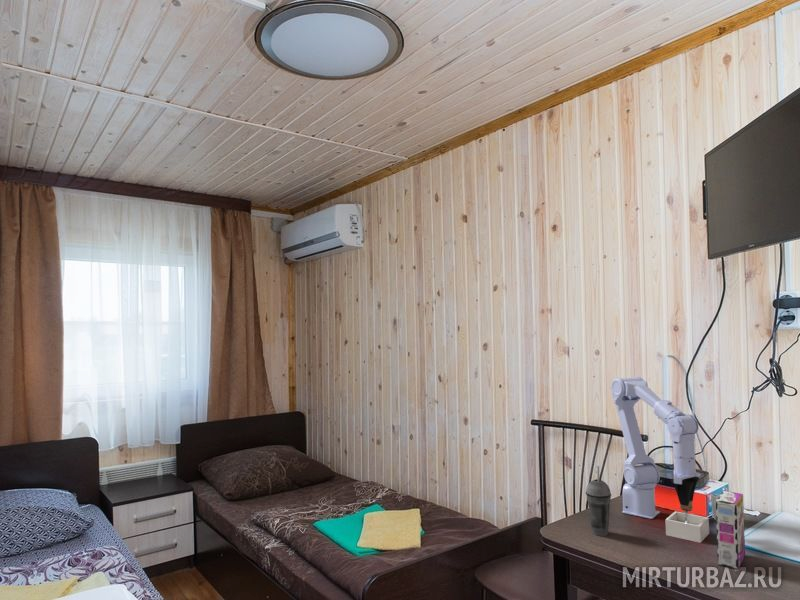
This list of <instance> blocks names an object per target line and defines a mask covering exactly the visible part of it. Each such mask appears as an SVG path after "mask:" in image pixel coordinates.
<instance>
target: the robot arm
mask: <svg viewBox="0 0 800 600" xmlns="http://www.w3.org/2000/svg"><path fill="white" fill-rule="evenodd" d="M610 392H611V395H612V399H613V403H614V404H615V409H616V412H617V416H618V419H619V423H620V427H621V432H622V436H623V438H624V443H625V447H626V450H627V454H628V457H627V458H626V460H625V461H624V462H623V464H622V465H623V475H624V479H625V482H626V483H625V484H624V485H623V488H622V494H621V495H622V514H626V515H632V516H636V517H640V518H646V519H650V520H652V519H654V518H655V517H656V516H658V515H660V514H661V511H659V510H656V495H655V491H656V490H655V487H657V484H658V483H659V482H660V479H661V473H660V471H659V469H658V467H657V465H656V463H655V460H654V459H653V458H652V457H651V456H649V455H648V454H646V450H645V446H644V442H643V439H642V434H641V431H640V427H639V424H638V420H637V416H636V412H635V408H634V407H635V405H636V403H638V402H639V401H640V400H642V401H643V402H644V403H646V404H648V406H650V407H651V408H653V413H654V414H655V416H657V418H658V419H660V420H661V421H662V422H663V423H665V424H666V426H667V430H668V433H669V434H670V439H671V441H672V453H673V456H672V457H673V478H672V479H671V481H670V482H671V484H672V485H673V488H674V489H675V491H676V492H675V493H676V494H677V498H678V502H679V505H685V506H688V505H689V500H691V501H692V502H693V500H694V496H695V491H696V487H697V484H698V482H699V479H700V478H699V477H701V473H700V472H697V470H696V449H695V447H696V446H695V434H697V432H698V431H699V422H698V421H697V419H696V417H694V415H693V414H691V413H690V414H686V413H684V412H683V411H682V410H680V409H678V408H677V407H676V406H675V405H674V404H672V403H673V402H672V401H671V400H667V399H661V398H660V397H659V396H658V395H657V394H656V392H654V391H653V390H652V389H651V388H650V387H649V386H648V382H647V380H645V379H643V377H641V376H637V377H636V376H635V377H624V378H623V377H621V378H620V377H617V378H614V379H613V380H612V382H611V386H610Z"/></svg>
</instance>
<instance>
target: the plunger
mask: <svg viewBox="0 0 800 600" xmlns="http://www.w3.org/2000/svg"><path fill="white" fill-rule="evenodd" d="M679 505H680V504H679ZM679 508H680V510H681V511H684V513H685V522H683V523H688V524H692V523H689V514H690V512H693V510H694V509H693V501H691V500H689V505H688V506H685V505H680V507H679ZM678 522H682V521H678ZM693 525H697V524H693Z"/></svg>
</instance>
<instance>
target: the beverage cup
mask: <svg viewBox="0 0 800 600" xmlns="http://www.w3.org/2000/svg"><path fill="white" fill-rule="evenodd" d="M596 468H597V469H596V470H597V479H593V480H591V481H590V482H588V484H587V486H586V488H585V495H586V500H587V506H588V513H589V521H590V522H589V523H590V528H591V533H592V534H593V535H594V534H595V536H598V535H599V536H600V537H605V536H608V535H609V526H610V525H609V524H610V507H611V506H610V503H611V500H612V493H611V489H610V486H609V485H608V484H607V483H606V482H605V480H604V481H603V480H601V479H600V466H599V465H597V467H596ZM599 536H598V537H599Z"/></svg>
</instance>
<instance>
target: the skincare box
mask: <svg viewBox="0 0 800 600" xmlns="http://www.w3.org/2000/svg"><path fill="white" fill-rule="evenodd" d="M720 495H721V494H711V495H710V498H711V515H712V517H711V518H712V519H713V518H714V519H713V520H715V521H716V500H717V498H718V497H719V496H720Z"/></svg>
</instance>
